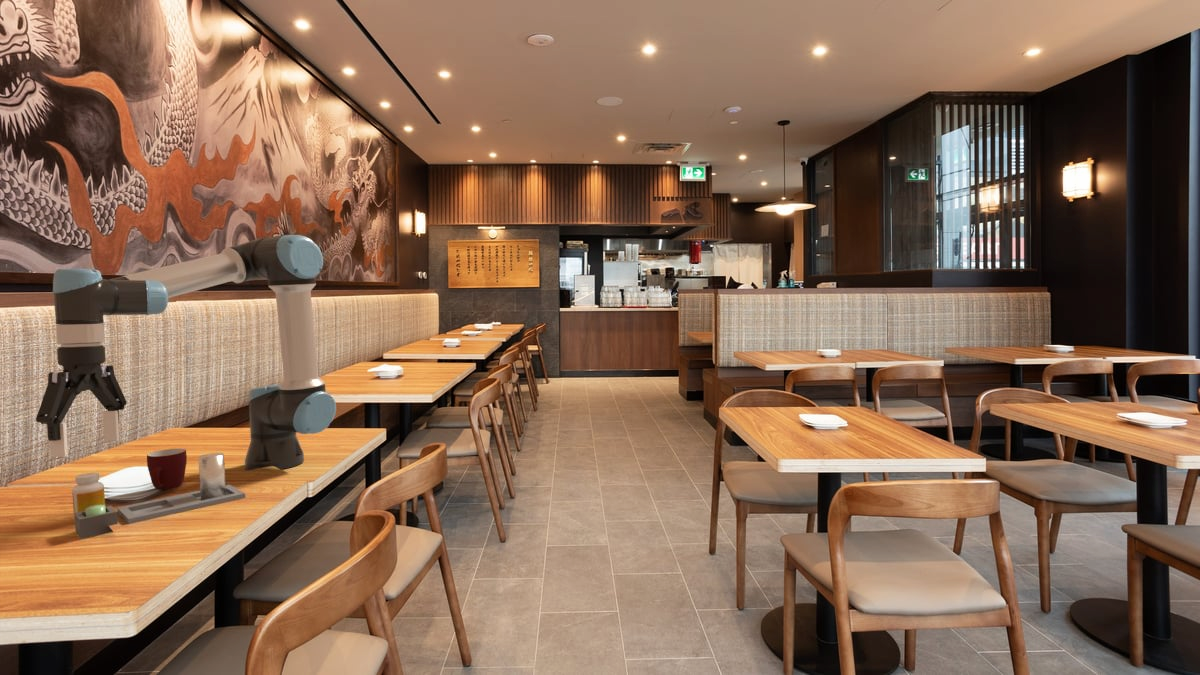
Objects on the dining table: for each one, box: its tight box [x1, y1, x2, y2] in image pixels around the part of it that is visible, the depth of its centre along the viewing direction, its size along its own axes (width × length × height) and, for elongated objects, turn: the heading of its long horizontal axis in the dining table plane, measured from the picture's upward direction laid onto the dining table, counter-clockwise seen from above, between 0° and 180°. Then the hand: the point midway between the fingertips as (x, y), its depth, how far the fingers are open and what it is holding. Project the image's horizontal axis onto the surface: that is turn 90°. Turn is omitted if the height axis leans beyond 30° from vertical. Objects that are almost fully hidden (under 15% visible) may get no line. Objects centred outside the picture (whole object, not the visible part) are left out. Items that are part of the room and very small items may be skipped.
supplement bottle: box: [71, 472, 106, 521], centre depth 136 cm, size 5×5×10 cm
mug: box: [146, 448, 188, 491], centre depth 153 cm, size 10×8×10 cm
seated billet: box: [198, 452, 227, 501], centre depth 144 cm, size 5×5×10 cm
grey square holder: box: [73, 505, 119, 540], centre depth 128 cm, size 6×6×4 cm
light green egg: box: [85, 504, 106, 517], centre depth 128 cm, size 3×3×4 cm
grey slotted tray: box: [116, 484, 246, 525], centre depth 140 cm, size 22×11×2 cm, turn 137°
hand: (87, 448), depth 127 cm, fingers open, 13 cm apart
